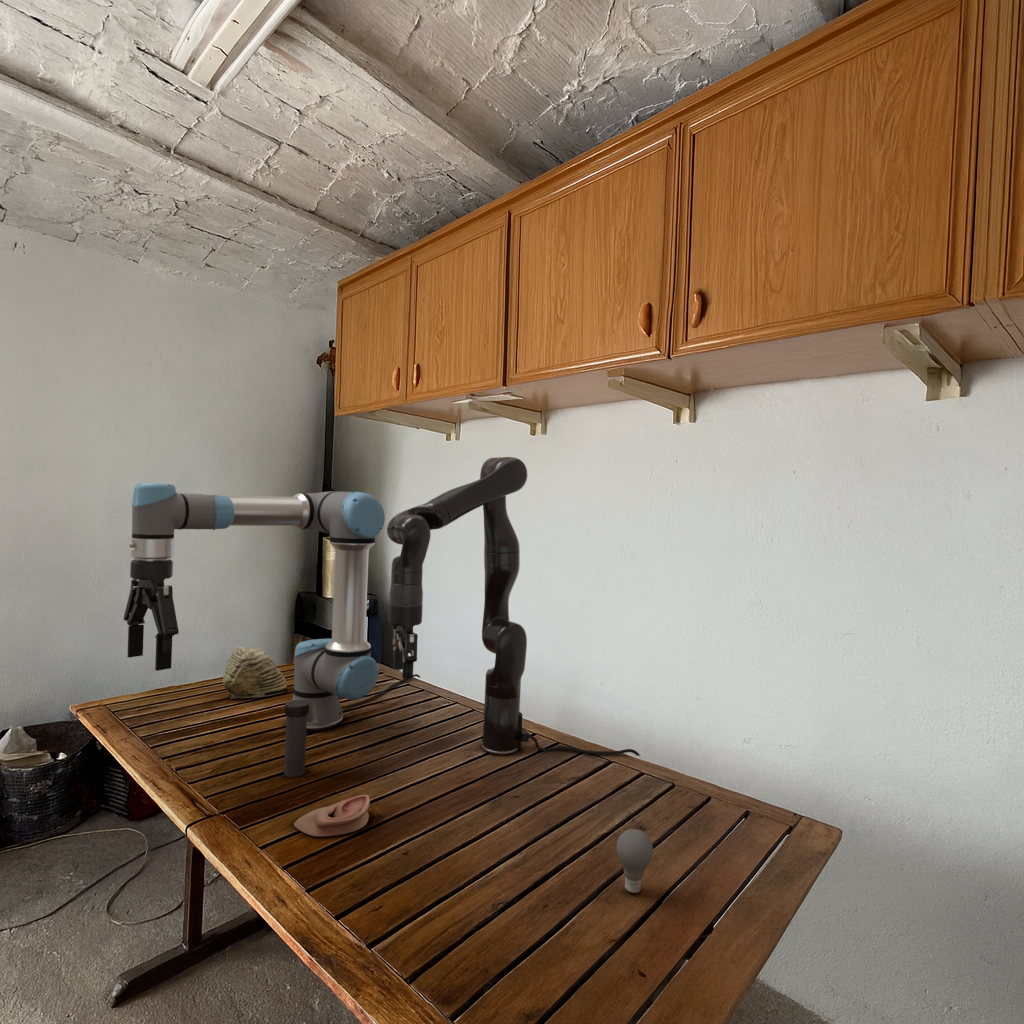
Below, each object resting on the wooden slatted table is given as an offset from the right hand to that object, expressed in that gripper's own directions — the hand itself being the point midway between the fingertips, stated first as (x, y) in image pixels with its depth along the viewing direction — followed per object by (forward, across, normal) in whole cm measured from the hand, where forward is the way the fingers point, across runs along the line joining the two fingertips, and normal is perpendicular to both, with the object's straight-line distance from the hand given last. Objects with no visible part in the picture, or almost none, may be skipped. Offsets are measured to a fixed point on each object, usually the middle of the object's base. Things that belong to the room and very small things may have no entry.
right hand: (403, 673), depth 143 cm
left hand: (-4, +6, +51) cm, 52 cm away
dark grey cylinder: (+24, +10, +22) cm, 34 cm away
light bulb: (+24, -53, -28) cm, 64 cm away
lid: (+8, +10, +22) cm, 25 cm away
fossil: (+24, +71, +30) cm, 81 cm away
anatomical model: (+24, -15, +16) cm, 33 cm away
